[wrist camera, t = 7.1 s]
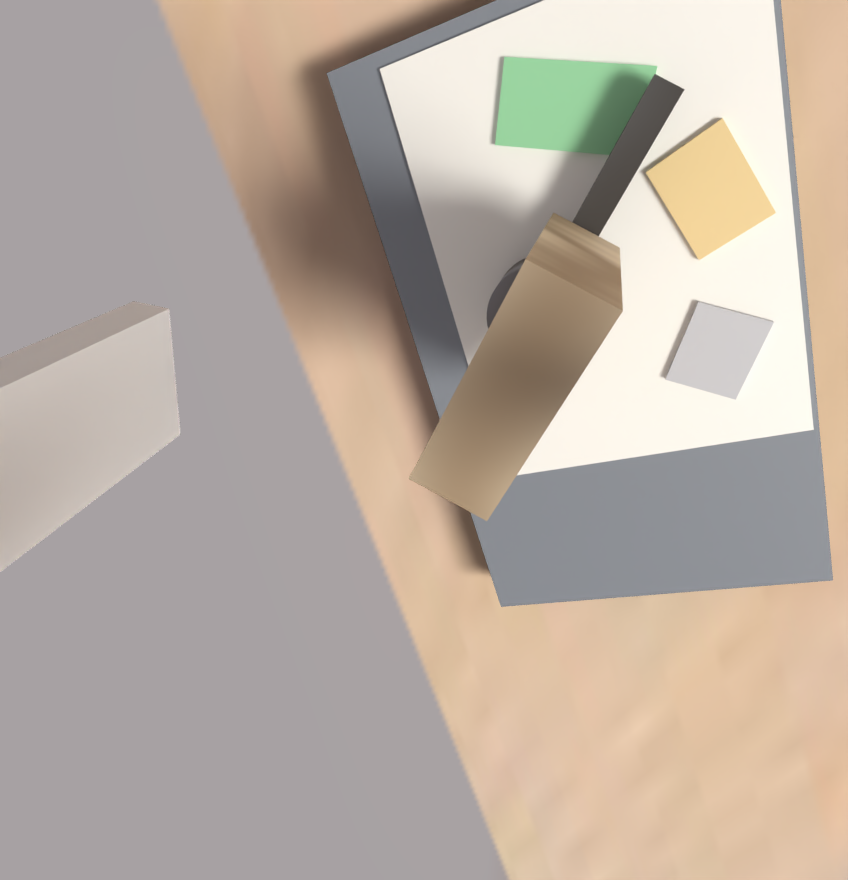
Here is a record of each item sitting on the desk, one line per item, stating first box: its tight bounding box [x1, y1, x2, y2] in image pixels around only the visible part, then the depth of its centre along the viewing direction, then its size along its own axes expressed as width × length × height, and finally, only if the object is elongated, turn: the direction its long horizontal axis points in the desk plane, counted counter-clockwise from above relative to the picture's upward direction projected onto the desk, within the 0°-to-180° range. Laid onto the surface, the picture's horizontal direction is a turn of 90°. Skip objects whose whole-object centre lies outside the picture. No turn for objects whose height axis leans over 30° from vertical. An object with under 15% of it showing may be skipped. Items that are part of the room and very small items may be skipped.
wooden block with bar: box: [409, 74, 685, 521], centre depth 17 cm, size 3×10×9 cm, turn 155°
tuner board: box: [327, 0, 833, 607], centre depth 23 cm, size 22×13×2 cm, turn 18°
